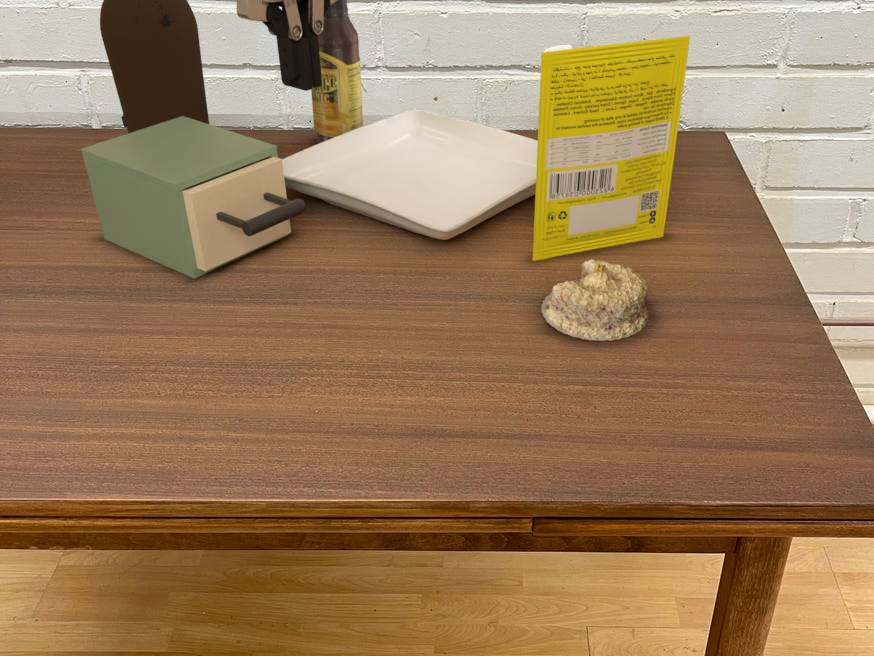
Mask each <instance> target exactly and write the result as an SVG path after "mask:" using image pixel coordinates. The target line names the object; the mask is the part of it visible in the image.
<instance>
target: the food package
mask: <svg viewBox="0 0 874 656" xmlns="http://www.w3.org/2000/svg"><path fill="white" fill-rule="evenodd" d="M690 40H691V36H689V35H684V36H676V37H666V38H658V39H649V40H648V39H647V40H639V41H629V42H621V43H612V44H604V45H602V44H601V45H595V46H594V47H585V48H576V49H568V50H560V51H552V52H544V51H543V52H541V56H540V79H539V80H540V82H539V104H538V105H539V106H538V123H537V125H538V127H537V141H538V147H537V170H536V193H535V195H534V196H535V197H534V219H533V220H534V221H533V222H534V223H533V241H532V242H533V243H532V262H537V261H542V260H547V259H552V258H557V257H562V256H569V255H574V254H578V253H579V254H580V253H583V252H589V251H594V250H601V249H605V248H610V247H611V248H612V247H617V246H622V245H627V244H632V243H637V242H638V243H639V242H643V241H649V240H655V239H660V238H664V233H665V226H666V221H667V214H668V213H667V212H668V205H669V197H670V190H671V182H672V177H673V176H672V174H673V167H674V160H675V152H676V146H677V137H678V132H679V131H678V130H679V124H680V115H681V108H682V100H683V95H684V94H683V93H684V86H685V79H686V72H687V64H688V55H689V48H690Z"/></svg>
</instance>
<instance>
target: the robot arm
mask: <svg viewBox="0 0 874 656" xmlns="http://www.w3.org/2000/svg"><path fill="white" fill-rule="evenodd" d="M336 1H338V0H236V14H237V16H238V18H240V19H244V20H248V21H252V22H253V21H254V22H262V24H264V25H265V26H266V28H267V30H268V32H269V34H270V35H272V36H276V37H275V38H276V44H277V52H278V53H277V55H278V61H279V69H280V78H281V82H282V84H283V85H284V86H287V87H291V88H294V89H298V90H301V91H305V92H308V91H311V89H312V88H313V87H314V88H317V87H320V86H321V85H322V76H321V65H320V55H319V44H318V36H317V34H321V33H322V31H323V28H324V16H325V14H326V12H327V10H328V8H329V5H332V4H333V3H335V2H336Z"/></svg>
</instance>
